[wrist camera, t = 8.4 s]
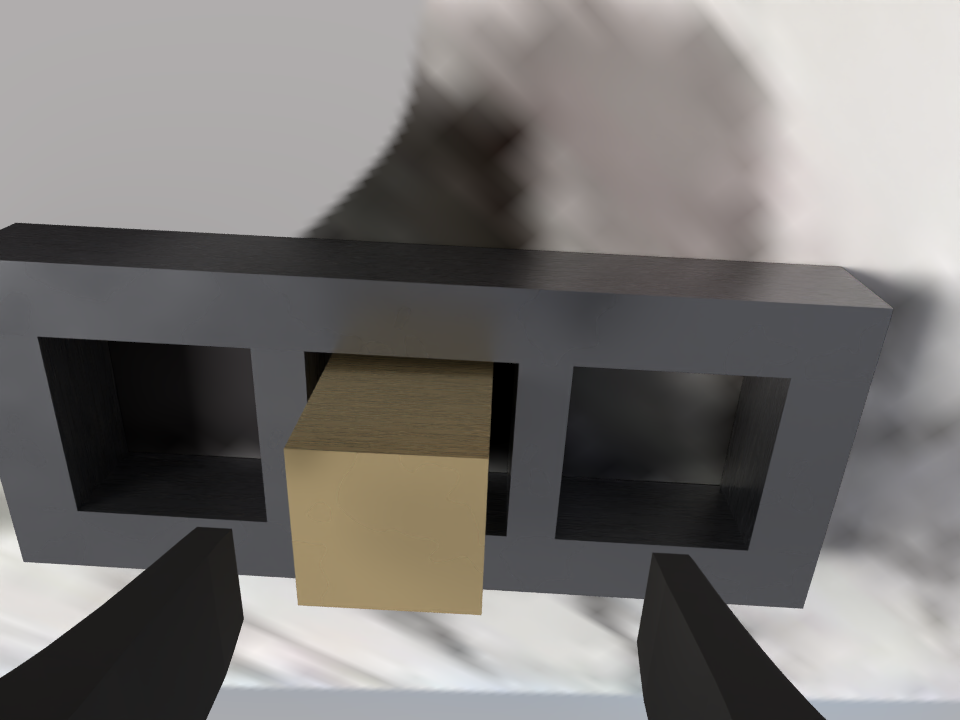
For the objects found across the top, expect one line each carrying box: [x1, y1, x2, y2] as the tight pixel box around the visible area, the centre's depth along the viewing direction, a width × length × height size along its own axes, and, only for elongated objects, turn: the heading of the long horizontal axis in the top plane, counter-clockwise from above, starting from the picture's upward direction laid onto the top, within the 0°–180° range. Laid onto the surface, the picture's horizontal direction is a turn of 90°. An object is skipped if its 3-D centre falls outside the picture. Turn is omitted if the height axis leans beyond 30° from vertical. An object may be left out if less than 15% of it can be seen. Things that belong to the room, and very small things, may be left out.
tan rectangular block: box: [284, 353, 494, 615], centre depth 19 cm, size 4×4×7 cm
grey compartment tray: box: [0, 223, 893, 608], centre depth 21 cm, size 22×9×3 cm, turn 87°
